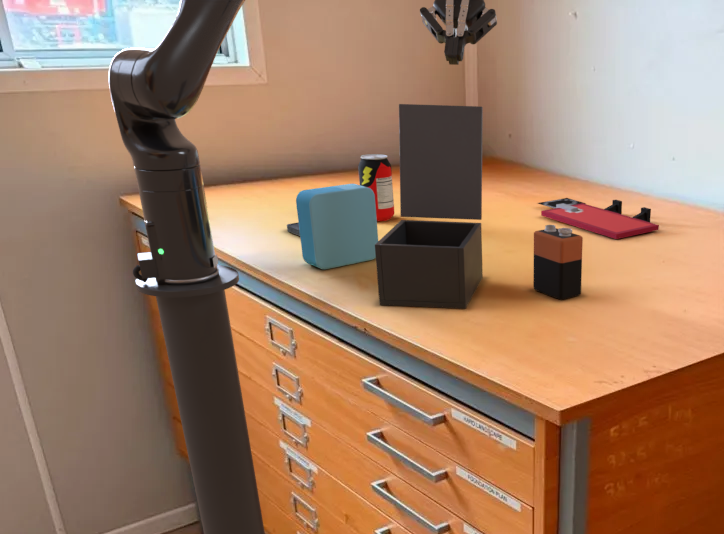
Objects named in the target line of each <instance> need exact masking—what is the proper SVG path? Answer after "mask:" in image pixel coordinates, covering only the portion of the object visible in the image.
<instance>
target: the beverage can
mask: <svg viewBox="0 0 724 534" xmlns="http://www.w3.org/2000/svg"><path fill="white" fill-rule="evenodd" d="M357 171H358V181H359V185H361V186H364V187H368V188H370V189H371V190H372V191H373V192H374V195H375V205H376V218H377V222H386V221H390V220H392V218H393V217H394V215H395V203H394V202H395V199H394V188H393V187H394V186H393V172H392V171H393V170H392V164H391V162H390V161H389V159H388V155H386V154H380V153H370V154H369V153H367V154H362V155H361V156H360V161H359V163H358V164H357Z"/></svg>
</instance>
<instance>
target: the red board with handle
mask: <svg viewBox="0 0 724 534" xmlns="http://www.w3.org/2000/svg"><path fill="white" fill-rule="evenodd" d="M537 205H541V206H545V207H548V208H550V209H545V210H541V211H540V216H542V217H545V218H548V219H550V220H554V221H557V222H560V223H563V224H567V225H570V226H573V227H576V228H579V229H582V230H586V231H589V232H592V233H594V234H598V235H601V236H604V237H608V238H611V239H613V240H619V239H624V238H628V237H632V236H638V235H642V234H646V233H647V234H648V233H651V232H656V231H659V230H660V225H659V224H656V223H653V222H651V215H652V209H651V208H649V207H645V206H643V207H640V212H638V213H637V214H635V215H634V216H629V215H625V214H622V211H623V201H622V200H619V199H612V204H611V205H608V206H607V207H605V208H601V207H597V206H595V205H590V204H587V203H586V202H583V201H580V200H576V199H572V198H569V197H564V198H558V199H551V200H547V201H540V202H537Z"/></svg>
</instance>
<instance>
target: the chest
mask: <svg viewBox="0 0 724 534" xmlns="http://www.w3.org/2000/svg"><path fill="white" fill-rule="evenodd" d="M482 235H483V233H482V222H470V221H469V222H467V221H466V222H465V221H446V220H445V221H444V220H443V221H441V220H417V219H416V220H414V219H400V221H398V222H397V224H396V225H394V226H393V227H392V228H391V229H390V230H389V231H388V232H387V233H385V235H383V236H382V237H381V238H380V239H378V242H377V243H376V244H375V255H376V258H375V264H376V266H375V267H376V279H377V290H378V304H379V306H391V307H416V308H435V309H436V308H437V309H439V308H440V309H459V310H462V309H464V310H465V309H467V307H468V305H469V303H470V302H471V300H472V298H473V297H474V295H475V293H476V291H477V289H478V288H479V286H480V283H481V282H482V280H483V278H484V276H483V275H484V274H483V243H482V242H483V237H482Z"/></svg>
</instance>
